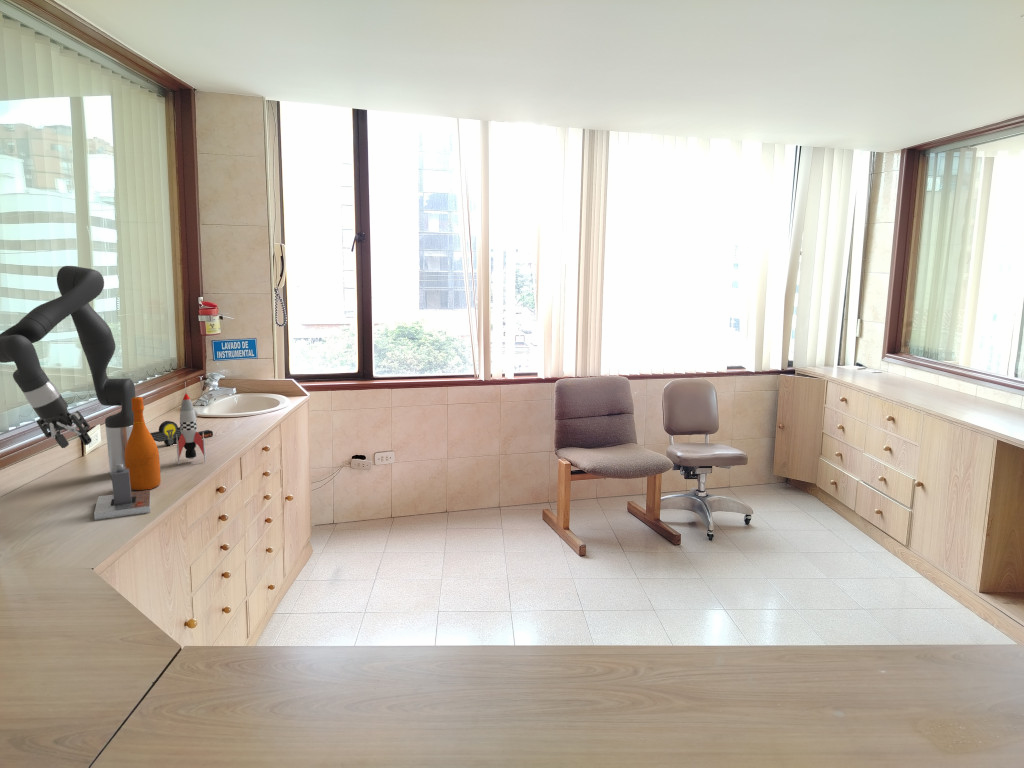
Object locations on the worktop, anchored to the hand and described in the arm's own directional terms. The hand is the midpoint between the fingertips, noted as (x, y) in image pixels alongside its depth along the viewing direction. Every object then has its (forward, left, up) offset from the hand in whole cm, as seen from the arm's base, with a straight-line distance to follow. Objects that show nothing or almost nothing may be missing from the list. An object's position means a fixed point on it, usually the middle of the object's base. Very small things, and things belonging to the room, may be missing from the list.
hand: (77, 444), depth 201 cm
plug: (+7, +9, -19) cm, 22 cm away
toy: (-29, +39, -20) cm, 52 cm away
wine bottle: (-10, +19, -20) cm, 29 cm away
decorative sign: (-60, +45, -20) cm, 78 cm away
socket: (+7, +9, -19) cm, 23 cm away
